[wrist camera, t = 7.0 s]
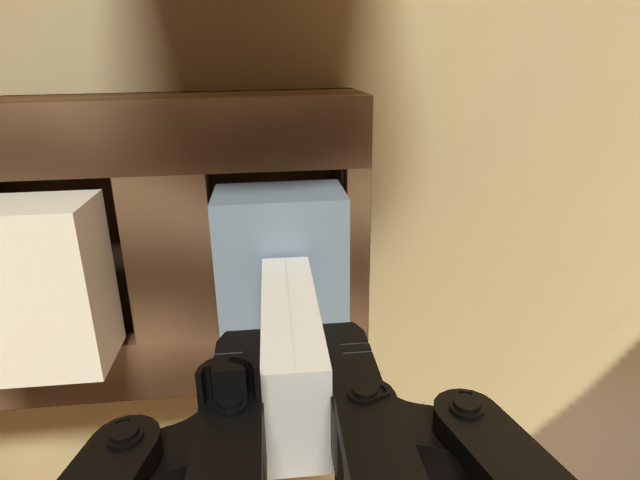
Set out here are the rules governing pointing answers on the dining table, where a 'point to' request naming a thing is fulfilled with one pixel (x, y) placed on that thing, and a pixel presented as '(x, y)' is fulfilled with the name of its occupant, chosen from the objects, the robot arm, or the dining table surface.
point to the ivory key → (57, 290)
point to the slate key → (278, 244)
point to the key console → (180, 204)
